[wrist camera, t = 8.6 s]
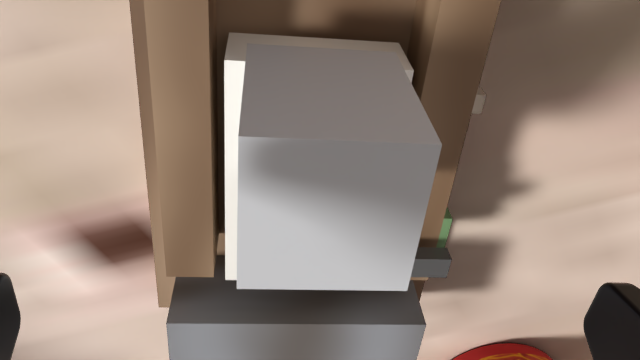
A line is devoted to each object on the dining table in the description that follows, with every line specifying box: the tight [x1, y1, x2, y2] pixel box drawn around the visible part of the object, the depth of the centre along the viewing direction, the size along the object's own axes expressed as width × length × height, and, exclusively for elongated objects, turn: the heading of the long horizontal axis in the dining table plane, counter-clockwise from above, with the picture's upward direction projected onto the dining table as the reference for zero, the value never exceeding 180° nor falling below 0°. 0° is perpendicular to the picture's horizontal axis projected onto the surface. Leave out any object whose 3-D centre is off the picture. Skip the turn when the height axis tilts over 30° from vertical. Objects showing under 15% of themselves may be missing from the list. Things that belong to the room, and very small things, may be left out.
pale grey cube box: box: [224, 32, 452, 291], centre depth 16 cm, size 7×8×7 cm
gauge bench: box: [129, 0, 501, 360], centre depth 17 cm, size 11×22×4 cm, turn 175°
